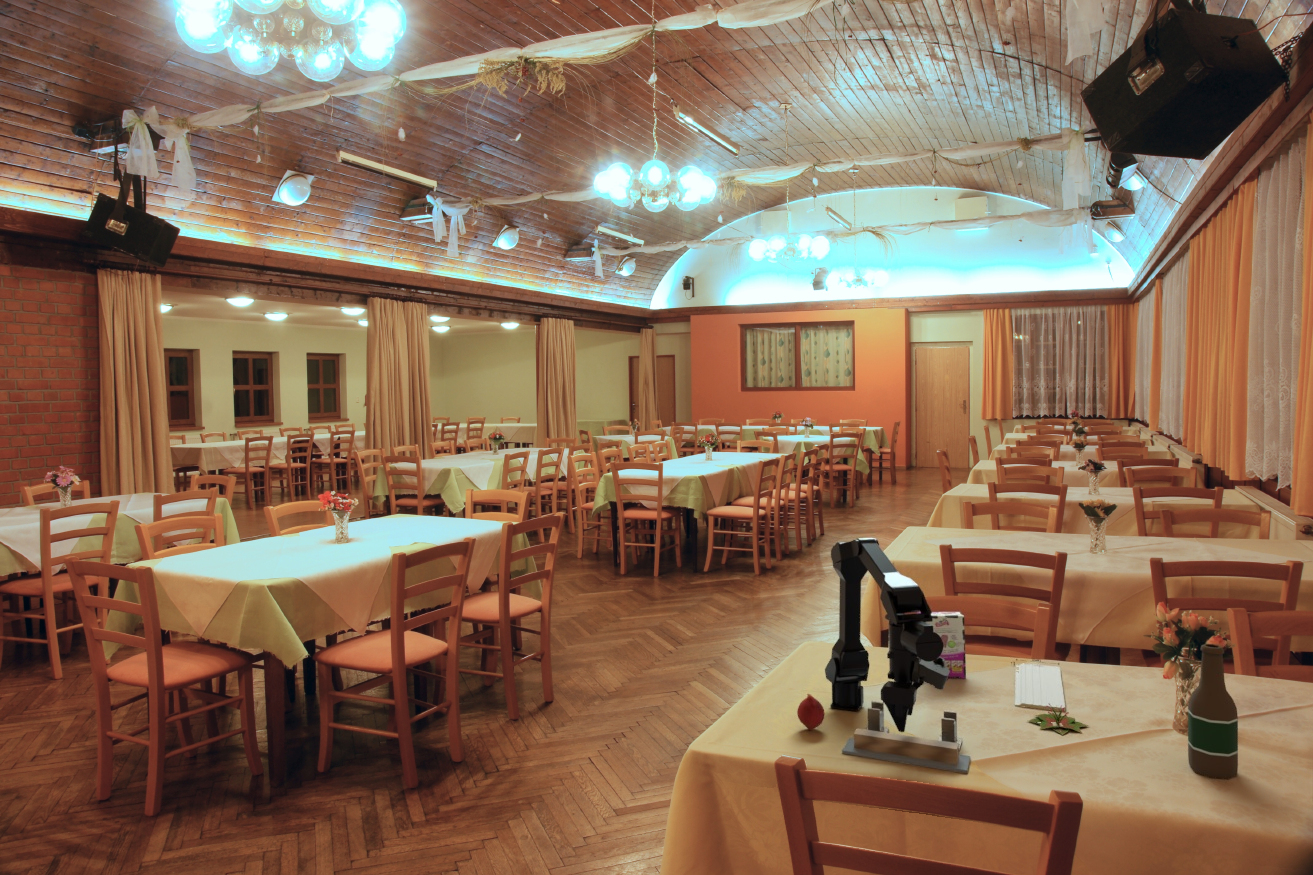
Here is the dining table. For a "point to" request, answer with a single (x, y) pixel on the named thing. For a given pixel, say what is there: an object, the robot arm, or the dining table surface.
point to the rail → (907, 746)
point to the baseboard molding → (1039, 687)
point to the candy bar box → (951, 640)
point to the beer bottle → (1212, 720)
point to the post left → (876, 717)
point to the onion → (810, 712)
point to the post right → (950, 728)
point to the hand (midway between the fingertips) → (905, 722)
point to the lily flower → (1058, 721)
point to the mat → (908, 758)
